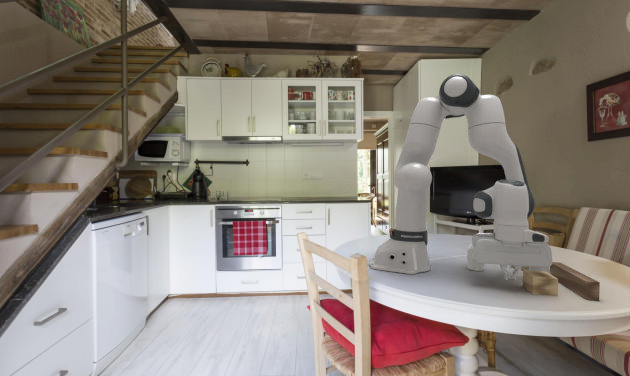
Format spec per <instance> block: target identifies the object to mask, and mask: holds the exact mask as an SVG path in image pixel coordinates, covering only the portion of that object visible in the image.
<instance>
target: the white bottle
mask: <svg viewBox="0 0 630 376" xmlns="http://www.w3.org/2000/svg"><path fill="white" fill-rule="evenodd" d="M473 247H474V246H473V244H472V242H470V244H469V246H468V247H467V249H466V250H467V253H466V254H467V255H466V257H467V258H466V268H467V269H468V270H471V271H474V272H482V271H484V266H485V264H484V263H477V262H475V261H474V259H473V258H472V254H473Z"/></svg>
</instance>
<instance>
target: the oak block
mask: <svg viewBox="0 0 630 376" xmlns="http://www.w3.org/2000/svg"><path fill="white" fill-rule="evenodd" d="M522 286H523V287H524V288H525V289H526V290H527V291H529V292H530V293H531V294H532V295H538V296H539V295H542V296H551V297H553V296H554V297H559V282H558V279H557V278H556V277H554V276H552V275H551V274H549V273H547V272H545V271H530V270H522Z"/></svg>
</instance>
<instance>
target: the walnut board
mask: <svg viewBox="0 0 630 376" xmlns="http://www.w3.org/2000/svg"><path fill="white" fill-rule="evenodd" d="M549 270H550V272H551V274H552V276H554V277H556V278H557V279H558V284H560V285H562V286H564V287H566V288H567V289H568V290H570V291H571V292H573V293H575V294H576V295H578V296H579V297H581V298H582V299H584V300H587V301H597V302H599V301H600V290H601V289H600V287H601V286H600V285H601V284H600V281H598V280H596V279H594V278H592V277H590V276H588V275H586V274H584V273H582V272H581V271H579V270H576V269H574V268H572V267H570V266H569V265H566V264H565V263H562V262H559V261H558V262H557V261H556V262H555V261H552V265H551V266H550V267H549Z"/></svg>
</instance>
